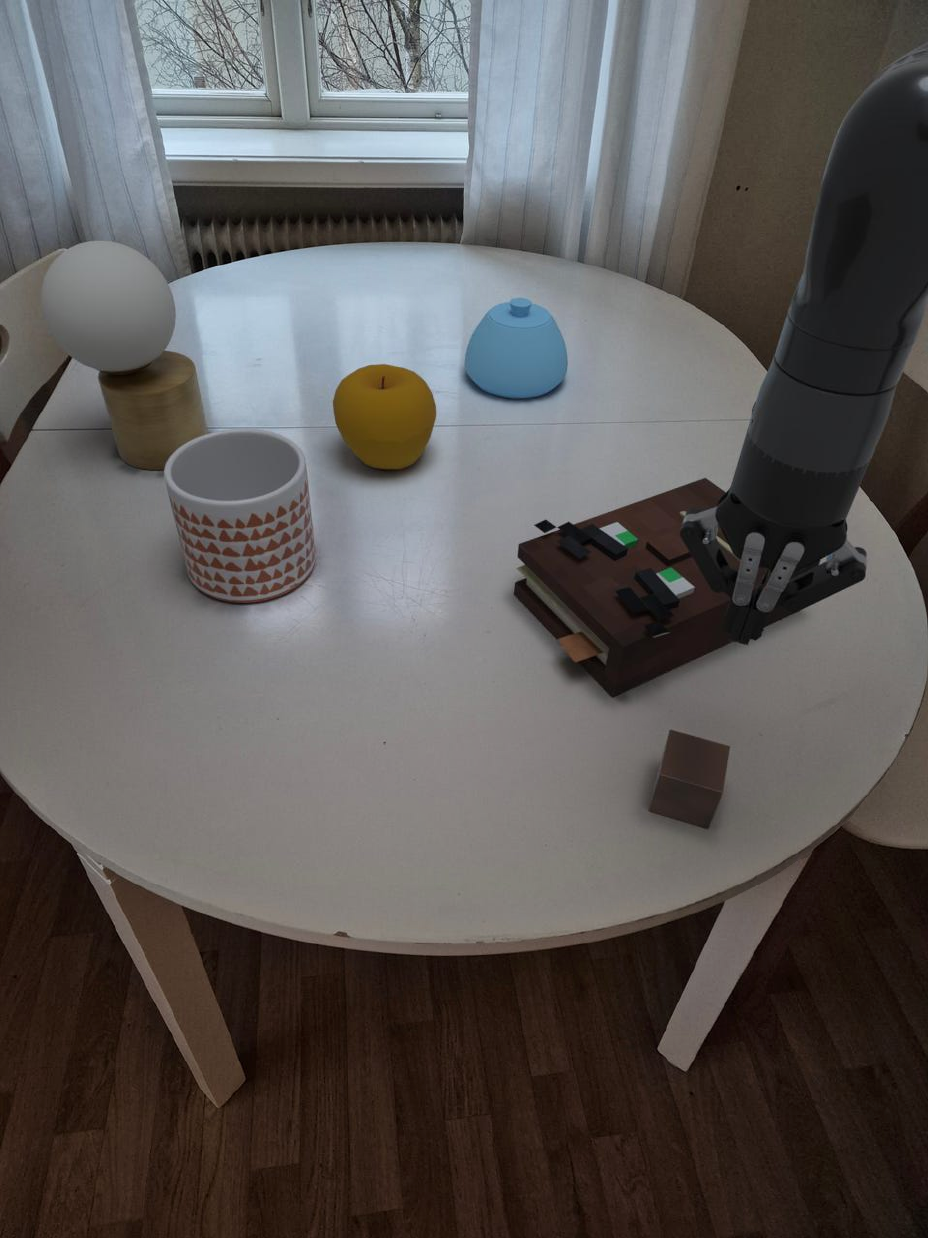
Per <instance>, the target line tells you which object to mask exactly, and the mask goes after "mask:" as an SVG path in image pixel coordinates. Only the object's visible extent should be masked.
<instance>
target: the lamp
mask: <svg viewBox="0 0 928 1238" xmlns="http://www.w3.org/2000/svg"><path fill="white" fill-rule="evenodd" d="M40 300H41V301H40V304H41V305H40V306H41V311H42V315H43V319H44V322H45V324H46V327H47V329H48V331H49V333H50V335H51V337H52V338H53V339H54V341H55V342H56V343H57V345H58V346H59V348H61V349H62V350H63V351H64V352H65V353H66V354H67V355H68V356H69V357H71V358H72V359H73V360H75V361H76V362H78V363H80V364H82V365H83V366H85V367H88V368H91V369H95V370H96V371H98V375H97V380H98V384H99V387H100V388H99V389H100V391H101V394H102V398H103V403H104V406H105V409H106V411H107V416H108V419H109V423H110V426H111V431H112V434H113V437H114V440H115V444H116V449H117V452H118V456H119V457H120V458H121V460H122V461H123V462H124V463H126V464H127V465H129V466H131V467H134V468H137V469H141V470H146V471H164V469H165V465H166V463H167V461H168V459H169V458H170V456H171V455H172V454H173V453H174V452H175V451H176V450H177V449H178V448H180V447H181V446H182V445H184V444H186V443H187V442H189V441H191V440H193V439H195V438H198V437H200V436H203V435H206V434H209V430H208V425H207V420H206V419H207V418H206V415H205V409H204V404H203V399H202V395H201V388H200V383H199V377H198V374H197V373H198V372H197V369H196V365H195V363H194V361H193V360H192V359H191V358H190V357H189V356H187V355H185V354H182V353H180V352H176V351H171V350H166V349H167V347H168V345H169V344H170V343H171V341H172V338H173V336H174V335H173V334H174V331H175V327H176V318H177V314H176V313H177V312H176V303H175V299H174V295H173V292H172V290H171V287H170V285H169V283H168V281H167V279H166V278H165V276H164V275H163V274H162V271H160V268H158V267H157V266H156V265H155V263H153V262H152V261H151V260H150V259H149V258H148V257H146V256H145V255H144V254H142V253H141V252H139V251H138V250H136V249H134V248H132V247H130V246H128V245H126V244H122V243H119V242H115V241H110V240H89V241H85V242H80V243H77V244H76V245H75V244H74V245H73V246H71V247H69V248H67V249H66V250H65V251H63V252H62V253H60V254H59V255H58V256H57V257H56V258H55V259H54V261H53V262H52V263H51V264H50V266H49V267H48V269H47V271H46V273H45V276H44V278H43V282H42V286H41V291H40Z"/></svg>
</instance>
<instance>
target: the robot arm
mask: <svg viewBox="0 0 928 1238" xmlns="http://www.w3.org/2000/svg"><path fill="white" fill-rule="evenodd" d="M811 223H812V224H811V228H810V233H809V238H808V243H807V249H806V253H805V259H804V260H805V261H804V267H803V270H802V273H801V275H800V277H799V279H798V282H797V284H796V287H795V290H794V292H793V295H792V297H791V300H790V303H789V305H788V309H787V313H786V316H785V319H784V322H783V326H782V329H781V333H780V336H779V339H778V343H777V346H776V349H775V353H774V355H773V358H772V361H771V363H770V365H769V367H768V370H767V372H766V374H765V376H764V378H763V381H762V383H761V385H760V387H759V391H758V393H757V397H756V400H755V401H754V403H753V405H752V407H751V417H750V420H749V424H748V426H747V430H746V434H745V437H744V441H743V444H742V447H741V450H740V454H739V457H738V461H737V464H736V466H735V470H734V474H733V477H732V480H731V483H730V486H729V488H728V489H727V490H726V491H725V492H726V493H725V494H723V495H722V496H721V498H720V499H719V501H718V505H717V507H714V508H712V509H709V510H706V511H703V512H701V510H699V509H697V508H691V509H689V510H687V512H686V514H685V518H684V521H683V524H682V527H681V530H680V536H681V538H682V540H683V542H684V543H685V545H686V547H687V549H688V550H689V552H690V554H691V556H692V557H693V559H694V561H695V563H696V564H697V566H698V568H699V569H700V571H701V573H702V575H703V576H704V578H705V580H706V582H707V583H708V585H709V587H710V589H711V590H712V591H714V592H717V593H721V592H724V593H726V594H727V595H728V596H729V597H730V601H729V604H728V607H727V610H726V613H725V617H724V622H723V626H722V627H723V632H726V633H729V638H728V640H729V641H733V642H732V643H736V644H737V643H738V644H742V645H744V646H748V645H749V643H750V640H752V641H758V640H759V639H760V638H761V637H762V635H763V632H764V630H765V628H766V626H765V625H766V622H767V619H768V617H769V614H770V612H771V611H772V610H773V609H775V608H780V607H785V609H786V610H788V611H790V612H795V613H798V612H800V611H802V610H804V609H806V608H809V607H811V606H813V605H815V604H817V603H820V602H821V601H823V600H825V599H827V598H829V597H831V596H833V595H835V594H838V593H840V592H842V591H844V590H847V589H848V588H850V587H852V586H854V585H857V584H859V583H861V582H862V581H864V580H865V578H866V576H867V564H868V559H867V558H868V557H867V556H868V555H867V551H866V550H865V548H863V547H860V546H854V545H853V544H852V543H851V542H850V540H849V539H848V534H847V532H848V528H849V527H848V522H847V517H848V515H849V513H850V510H851V508H852V507H853V503H854V501H855V498H856V496H857V494H858V492H859V489H860V486H861V484H862V482H863V480H864V477H865V475H866V472H867V470H868V467H869V466H870V464H871V463H870V462H871V460H872V459H873V456H874V453H875V451H876V448H877V446H878V443H879V441H880V439H881V436H882V434H883V432H884V430H885V429H884V428H885V427H886V424H887V422H888V419H889V416H890V412H891V409H892V406H893V401H894V397H895V393H896V389H897V388H898V384H899V381H900V379H901V377H902V375H903V371H904V369H905V367H906V364H907V362H908V360H909V358H910V355H911V353H912V351H913V348H914V345H915V343H916V340H917V338H918V335H919V333H920V330H921V328H922V325H923V323H924V320H925V315H926V313H927V309H928V41H927V42H925V43H924V44H921V45H919V46H918V47H916V48H914V49H913V50H910V51H909V52H907V53H906V54H904V55H902V56H900V57H899V58H897V59H896V60H894V61H893V62H891V63H890V64H889V65H887V66H885V68H884V69H882V70H881V71H880V72H878V74H876V75H875V76H874V78H872V80H871V81H870V82H869V84H868V85H867V86H866V87H865V89H864V90H863V91H862V92H861V94H860V95H859V96H858V97H857V98H856V100H854V102H853V104H852V105H851V106H850V108H849V109H848V111H847V112H846V114H845V116H844V118H843V119H842V121H841V123H840V125H839V127H838V130H837V132H836V135H835V137H834V140H833V143H832V146H831V149H830V152H829V155H828V159H827V162H826V165H825V169H824V173H823V176H822V180H821V184H820V187H819V192H818V196H817V200H816V205H815V210H814V214H813V219H812V222H811ZM718 525H719V526H720V528H721V530H722V532H723V534H724V536H725V538H726V540H727V542H728V544H729V546H730V548H731V550H732V552H733V554H734V555H735V556H736V557H737V558H738V559H740V560H741V562H740V566H739V571H736V570H734V569H733V568H731V564H730V562H729V560H728V558H727V556H726V555H725V553H724V551H723V549H722V547H721V546H720V544H719V542H718V540H717V538H716V536H717V532H718ZM824 558H826V561H823V562H822V563H819V565H818V566H816V567H814V568H812V569H810V570H808V571H806V572H804V573H802V574H800V575H799V576H797V577H795V578H793V579H791V580H789V579H790V577H791V575H792V573H793V572H798V571H801V570H803V569H805V568H806V567H808V566H810V565H812V564H814V563H815V562H817V561H819V560H823V559H824ZM758 567H762V568H767V570H766V572H765V574H764V576H763V578H762V581H761V583H760V586H759V588H758V590H757V591H755V590H754V592H753V586H754V583H755V579H756V575H757V571H758Z"/></svg>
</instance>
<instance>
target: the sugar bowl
mask: <svg viewBox="0 0 928 1238" xmlns="http://www.w3.org/2000/svg"><path fill="white" fill-rule="evenodd" d="M568 360H569V359H568V350H567V345H566V341H565V339H564V336H563V334H562V331H561V329H560V328H559V326H558V323H557V322H556V320H555V319H554V317H553V315H552V313H551V312H550V311H549V310H548V309H547V308H545V307H544V306H541V305H538V304H536V303H532V301H531V300H530V299H528V298H525V297H515V298H511V299H510V300H509V301H505V302H502V303H498V304H496V305H493V306H492V307H491V308H490V309H489V310H488V311H487V312H486V313H485V314H484V316H482V318H481V320H480V321H479V323H478V324H477V325H476V327H475V329H474V331H472V334H471V335H470V338H469V341H468V343H467V346H466V350H465V354H464V368H465V371H466V373H467V375H468V376H469V378H470V379H471V380H472V381H473V382H474V383H475V385H476V386H477V387H478V388H479V389H481V390H483V391H484V392H486V393H488V394H490V395H494V396H497V397H501V398H507V399H521V400H522V399H531V398H532V399H533V398H536V397H537V398H538V397H540V396H541V397H542V396H544V395H546V394H548V393H549V392H551V391H552V390H554V389H555V388H556V387H557V386H558V385H559V384H560V383H561V382H562V381H563V380H564V379H565V376H566V375H567V373H568V367H569V361H568Z"/></svg>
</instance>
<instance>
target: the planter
mask: <svg viewBox="0 0 928 1238" xmlns="http://www.w3.org/2000/svg"><path fill="white" fill-rule="evenodd" d="M163 476H164V482H165V486H166V490H167V494H168V499H169V503H170V507H171V510H172V515H173V519H174V523H175V527H176V531H177V536H178V540H179V545H180V548H181V552H182V557H183V561H184V565H185V569H186V571H187V572H186V573H187V576H188V578H189V580H190V582H191V583H192V584H193V585H194V587H195V588H197V589H198V590H199V592H202V593H203V594H205V595H206V596H208V597H210V598H213V599H216V600H219V601H223V602H229V603H237V604H250V603H259V602H264V601H269V600H272V599H275V598H278V597H281V596H283V595H285V594H287V593H290V592H291V591H293V590H295V589H296V588H297V587H299V586H300V585H301V584H302V583H304V582H305V581H306V579H307V578H308V577H309V576H310V574H311V573H312V571H313V569H314V567H315V564H316V559H317V558H316V557H317V556H316V543H315V534H314V524H313V515H312V505H311V497H310V488H309V487H310V486H309V479H308V478H309V477H308V469H307V461H306V457H305V454H304V452H303V450H302V449H301V447H299V445H298V444H297V443H296V442H294V441H292V440H291V439H290V438H288V437H286V436H284V435H282V434H280V433H276V432H273V431H269V430H265V429H259V428H257V429H256V428H231V429H230V428H229V429H224V430H217V431H213V432H210V433H209V432H208V434H206V435H203V436H200V437H198V438H195V439H193V440H191V441H189V442H187V443H186V444H184V445H182V446H181V447H180V448H178V449H177V450H176V451H175V452H174V453H173V454H172V455H171V456H170V458H169V459H168V461H167V463H166V465H165V469H164V470H163Z"/></svg>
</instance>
